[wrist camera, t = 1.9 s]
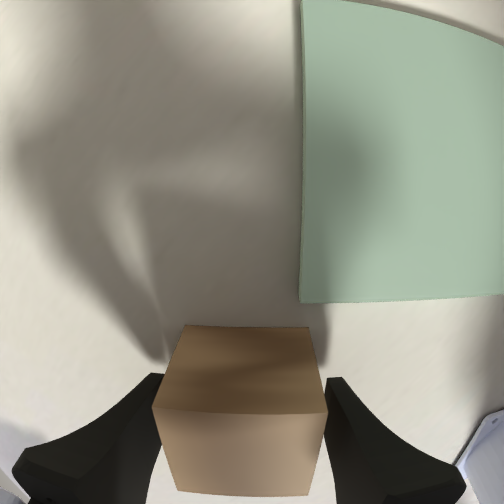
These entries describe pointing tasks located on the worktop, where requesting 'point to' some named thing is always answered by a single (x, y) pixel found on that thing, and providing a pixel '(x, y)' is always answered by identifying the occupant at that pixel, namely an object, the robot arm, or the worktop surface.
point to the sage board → (399, 157)
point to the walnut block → (242, 411)
